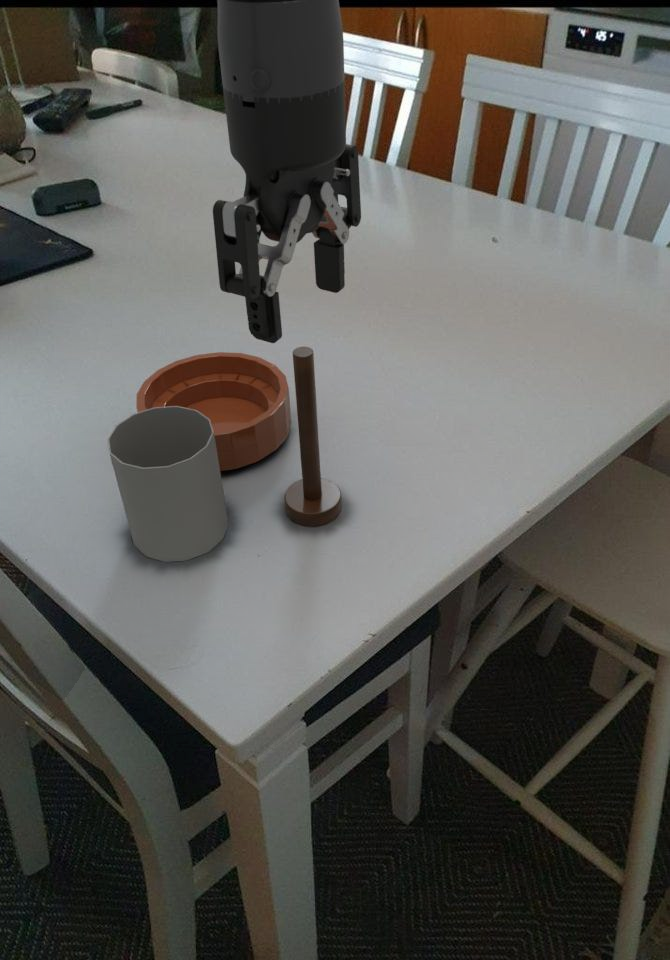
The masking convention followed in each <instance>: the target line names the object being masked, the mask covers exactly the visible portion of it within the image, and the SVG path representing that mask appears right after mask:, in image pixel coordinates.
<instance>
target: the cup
mask: <svg viewBox="0 0 670 960" xmlns="http://www.w3.org/2000/svg"><path fill="white" fill-rule="evenodd" d="M107 446H108V454H109V456H110V460H111V465H112V468H113V471H114V475H115V480H116V483H117V487H118V491H119V494H120V498H121V501H122V505H123V509H124V513H125V515H126V516H125V517H126V520H127V524H128V529H129V531H130V534H131V538H132V543H133V546H134V547H136V549H137V550H139V552H140V553H142V555H144V556H145V558H150V559H154V560H157V561H160V562H164V563H170V562H183V561H190V560H192V559H195V558H198V557H200V556H203V555H205V554H208V553H209V552H210V551H211V550H213V549H214V548H215V547H217V545H218V544H220V543H221V542H222V541H223V540H224V538H225V535H226V533H227V530H228V527H229V525H230V523H229V517H228V510H227V503H226V499H225V493H224V487H223V482H222V473H221V471H220V467H219V461H218V455H217V449H216V442H215V436H214V431H213V428H212V425H211V421H210V419H209V418H207V417H206V416H204V415H203V414H202V413H200V412H199V411H197V410H194V409H189V408H184V407H180V406H168V407H154V408H151V409H148V410H145V411H142V412H139V413H138V412H135V413H133V414H130V416H128V417H127V418H126V419H123V420H122V421H121V422H119V423H118V424H116V425H115V426H114V428H113V429H112V432H111V433H110V434H109V436H108V438H107Z"/></svg>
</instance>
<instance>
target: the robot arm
mask: <svg viewBox="0 0 670 960" xmlns="http://www.w3.org/2000/svg"><path fill="white" fill-rule="evenodd" d="M216 3H217V22H216V23H217V26H216V27H217V28H216V29H217V31H216V32H217V46H218V48H217V49H218V56H219V64H220V72H221V73H220V74H221V82H222V92H223V99H224V100H223V101H224V108H225V109H224V110H225V116H226V117H225V118H226V126H227V132H228V133H227V135H228V141H229V151H230V154H231V156H232V157H233V159H234V160H235V161H236V162H237V163H238V164H239V165H240V167H241V169H242V170H243V171H244V174H245V185H244V192H243V196H242V197H240V198H238V199H235V200H233V201H229V200H228V201H226V200H223V199H218V200H216V201H215V202H214V204H213V206H212V216H213V217H212V220H213V229H214V239H215V240H214V241H215V251H216V252H215V253H216V260H217V272H218V284H219V289H220V290H221V291H222V292H224V293H227V294H234V295H236V296H240V297H244V299H245V307H246V316H247V323H248V324H247V325H248V330H249V332H250V335H252V336H253V338H254V339H257V340H260V341H263V342H267V343H270V344H275V343H277V342H278V341H279V340H281V339H282V338H283V328H282V327H283V326H282V317H281V306H280V305H281V304H280V293H279V291H277V288H278V286H279V282H280V277H281V275H282V271H283V267H284V266H285V265H288V264H289V263H290V262H291V261H292V259H293V256H294V252H295V249H296V245H297V243H300V242H301V241H302V240H303V238H304V237H305V236H306V235H307V234H312V236H313V237H314V238H315V239H317V240H316V241H314V242H313V255H314V256H313V257H314V258H313V259H314V274H315V284H316V287H317V288H318V289H320V290H322V291H326V292H330V293H334V294H337V293H340V291H342V290H343V289H345V286H346V285H345V284H346V283H345V282H346V281H345V278H346V277H345V274H346V273H345V271H346V269H345V267H346V266H345V244H347V242H348V241H349V238H350V228H351V227H355V228H357V227H359V225H360V224H361V220H362V204H361V203H362V202H361V186H360V184H361V183H360V164H359V162H360V161H359V149H358V147H357V145H355V144H348V143H347V128H346V126H347V125H346V87H345V85H346V83H345V81H346V80H345V49H344V48H345V47H344V30H343V29H344V28H343V21H342V15H341V14H342V13H341V9H340V1H339V0H216ZM339 196H344V197H345V199H346V207H344V206H341V205H340V204H339ZM262 234H263V235H264V236H265V237H266V239H268V240H270V241H274V242H277V244H276V245H274V246H272V245H268V244H263V243H260V240H261V235H262ZM264 259H265V260H267V263H266V267H265V271H264V274H263V275H261V273H260V261H261V260H264ZM236 263H238V264H239V265H240V269H239V273H237V272H236Z"/></svg>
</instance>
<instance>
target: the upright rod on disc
mask: <svg viewBox="0 0 670 960" xmlns="http://www.w3.org/2000/svg"><path fill="white" fill-rule="evenodd" d="M314 355H315V354H314V349H313V348H311V347H309V346H299V347H296V348H294V349H293V350H292V363H293V375H294V377H293V378H294V389H295V390H294V391H295V401H296V402H295V403H296V415H297V416H296V417H297V427H298V429H297V430H298V439H299V442H298V443H299V454H300V467H301V479H298V480H297V481H294V482H292V484H290V485H289V486H288V488H287V489H286V491H285V493H284V507H285V508H284V509H285V514H286V515H287V517H288V518H289V519H290V520H291V521H292V522H294V523H296V524H298V525H301V526H306V527H318V526H324V525H326V524H329V523H331V522H333V521H334V520H335V519H336V518H338V516H339V515H340V513H341V511H342V491H341V489H340V488H339V486H338V485H337V484H336V483H335V482H333V481H332V480H330V479H327V478H323V477H322V473H321V459H320V457H321V456H320V441H319V424H318V422H319V421H318V408H317V406H318V405H317V391H316V373H315V357H314Z"/></svg>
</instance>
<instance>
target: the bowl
mask: <svg viewBox="0 0 670 960" xmlns="http://www.w3.org/2000/svg"><path fill="white" fill-rule="evenodd" d="M135 400H136V401H135V402H136V404H135V405H136V407H135V408H136V413H139V412H142V411H145V410H148V409H151V408H154V407H168V406H180V407H184V408H189V409H194V410H197V411H199V412H200V413H202V414H203V415H204V416H206V417H207V418H209V419H210V421H211V425H212V428H213V431H214V436H215V442H216V449H217V455H218V461H219V467H220V472H223V471H225V472H226V471H231V470H237V469H240V468H243V467H246V466H248V465H251V464H252V465H253V464H255V463H257V462H259V461H261V460H263V459H265V457H267V456H269V455H271V454H272V453H274V452H275V451H277V449H279V447H280V446H282V444H283V443H284V442H285V440H287V438H288V436H289V433H290V429H291V426H292V412H291V400H290V388H289V384H288V379H287V376H286V375H285V373H283V372H282V370H281V369H280V368H279V367H278V366H277V365H276V364H274V363H272V362H270V361H268V360H267V359H264V358H262V357H260V356H255V355H251V354H246V353H243V352H224V351H220V352H219V351H217V352H209V353H201V354H194V355H192V356H189V357H185V358H182V359H178V360H174V361H172V362H170V363H169V364H167V365H164V366H163V367H161V368H158V369H157V370H156V371H155V372H154V373H152V374H151V375H150V376H149V377H147V378H146V379H145V380H144V381H143V383H142V384H141V385H140V388H139V390H138V391H137V393H136V399H135Z"/></svg>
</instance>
